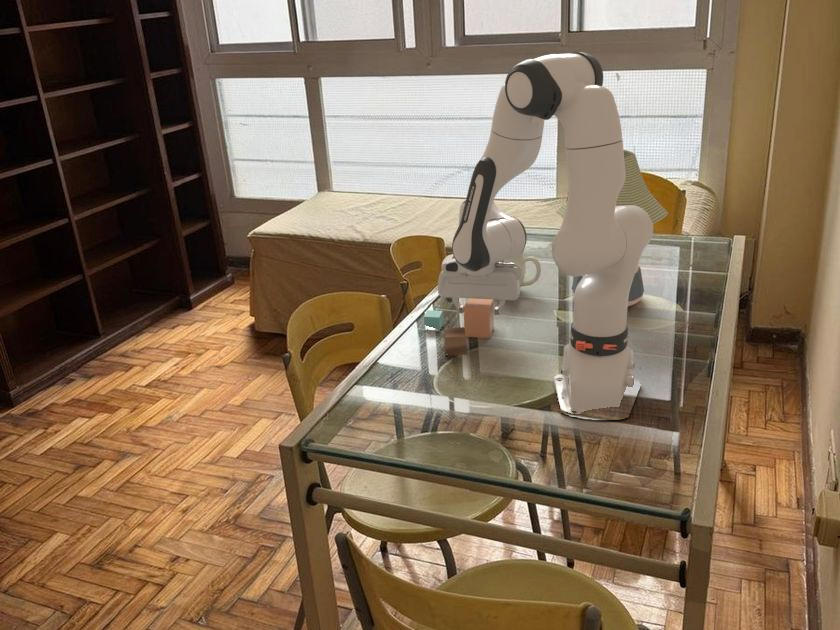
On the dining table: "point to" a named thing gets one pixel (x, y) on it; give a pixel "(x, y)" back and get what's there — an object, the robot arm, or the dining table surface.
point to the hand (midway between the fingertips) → (479, 313)
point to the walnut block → (455, 341)
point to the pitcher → (524, 267)
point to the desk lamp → (637, 196)
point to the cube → (434, 319)
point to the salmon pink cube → (479, 317)
